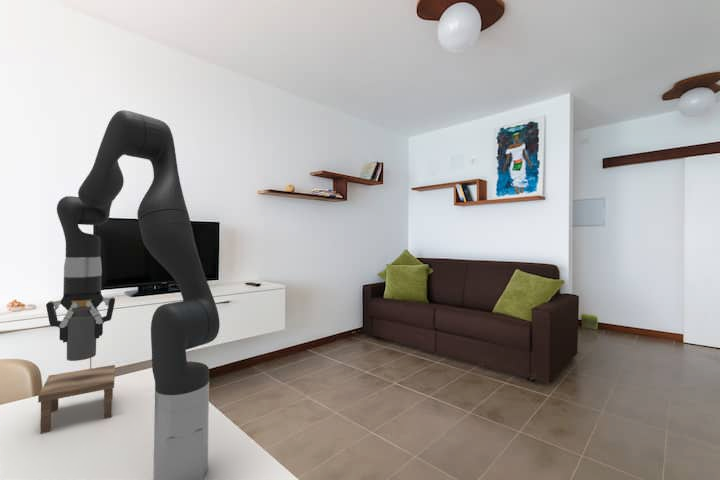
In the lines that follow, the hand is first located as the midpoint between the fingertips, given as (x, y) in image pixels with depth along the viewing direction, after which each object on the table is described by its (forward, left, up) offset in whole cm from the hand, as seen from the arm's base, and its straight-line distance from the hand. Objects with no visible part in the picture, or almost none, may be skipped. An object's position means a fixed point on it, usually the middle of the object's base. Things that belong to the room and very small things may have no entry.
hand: (81, 339), depth 86 cm
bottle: (0, 0, -5) cm, 5 cm away
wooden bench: (0, 0, -19) cm, 19 cm away
